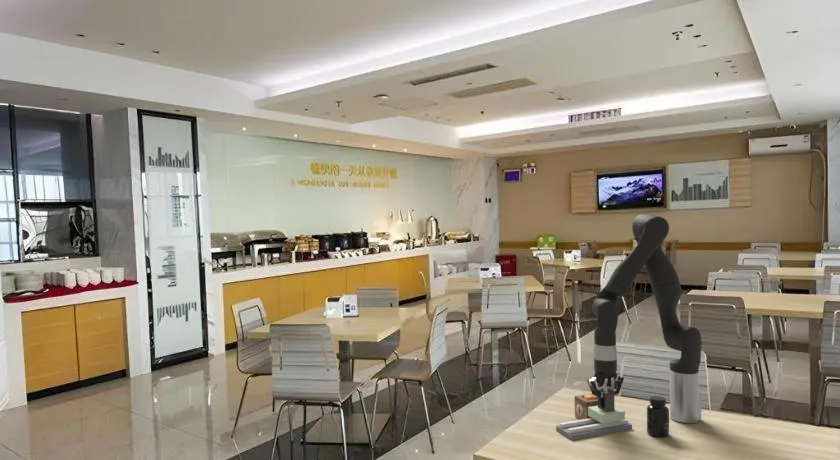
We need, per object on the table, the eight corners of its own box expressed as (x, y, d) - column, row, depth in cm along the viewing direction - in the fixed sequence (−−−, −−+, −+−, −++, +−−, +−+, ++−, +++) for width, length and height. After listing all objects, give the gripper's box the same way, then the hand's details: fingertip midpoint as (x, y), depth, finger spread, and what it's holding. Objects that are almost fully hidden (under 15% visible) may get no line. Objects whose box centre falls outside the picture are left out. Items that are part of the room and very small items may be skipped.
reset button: (591, 404, 199) (591, 393, 199) (597, 408, 195) (597, 397, 195) (582, 406, 198) (582, 395, 198) (588, 409, 194) (588, 398, 194)
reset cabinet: (593, 413, 201) (593, 393, 201) (605, 420, 195) (605, 399, 194) (573, 416, 198) (573, 396, 198) (585, 423, 192) (585, 402, 192)
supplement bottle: (671, 438, 178) (671, 402, 177) (649, 437, 179) (648, 401, 179) (666, 430, 184) (666, 395, 184) (645, 429, 186) (644, 394, 185)
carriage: (609, 412, 193) (609, 386, 193) (624, 419, 186) (624, 393, 185) (587, 415, 190) (587, 390, 190) (602, 423, 183) (602, 397, 182)
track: (614, 419, 195) (614, 412, 195) (632, 429, 186) (632, 421, 186) (556, 429, 187) (556, 422, 187) (571, 440, 178) (571, 431, 178)
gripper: (615, 352, 193) (615, 400, 194) (581, 356, 189) (582, 406, 189) (629, 357, 186) (630, 407, 187) (594, 361, 182) (595, 413, 182)
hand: (606, 406), depth 188 cm, fingers closed on carriage, 3 cm apart
